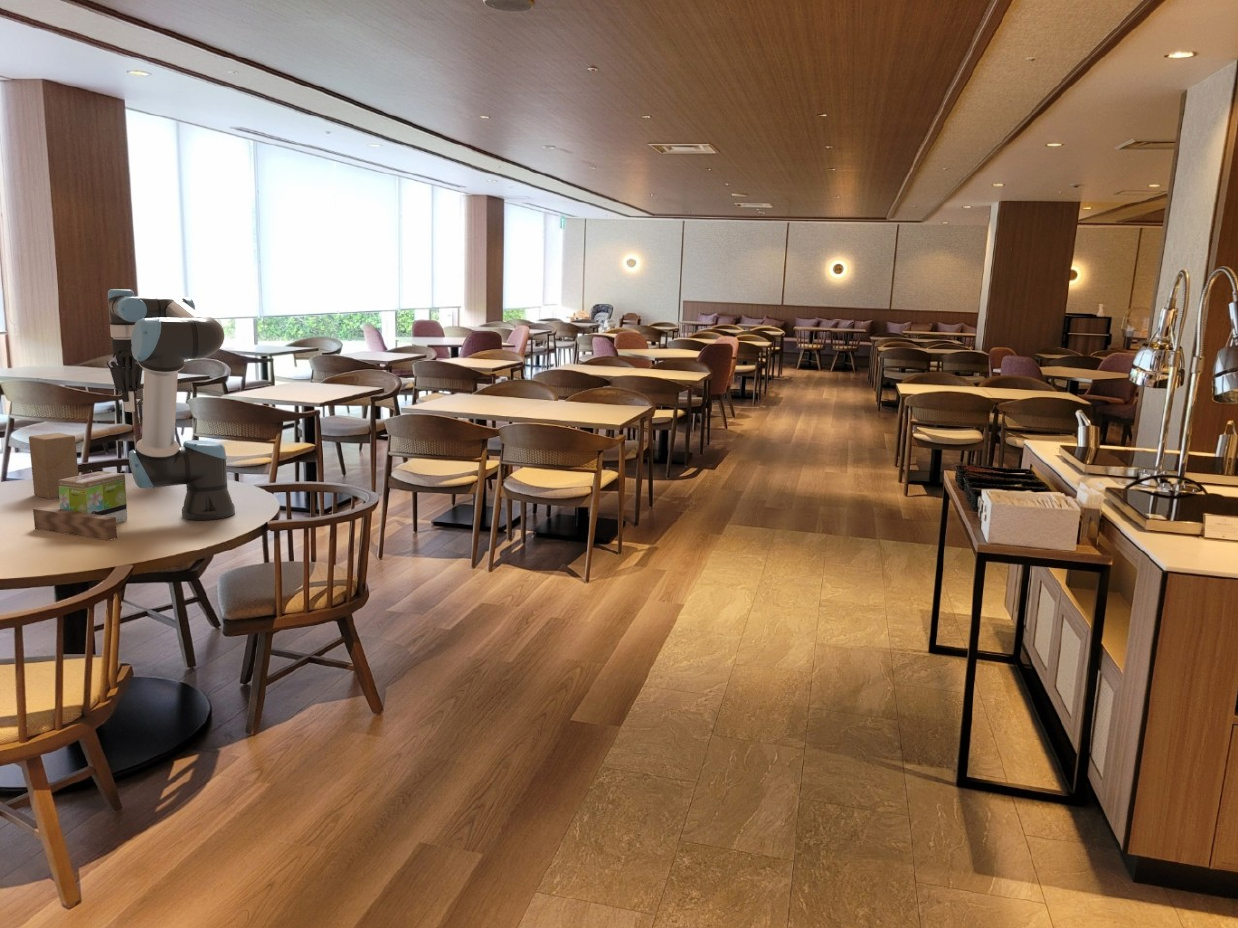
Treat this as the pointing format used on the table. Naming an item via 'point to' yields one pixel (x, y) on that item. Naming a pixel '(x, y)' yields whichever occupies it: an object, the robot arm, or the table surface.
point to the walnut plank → (75, 523)
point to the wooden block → (52, 462)
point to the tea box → (95, 494)
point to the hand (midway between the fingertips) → (129, 411)
